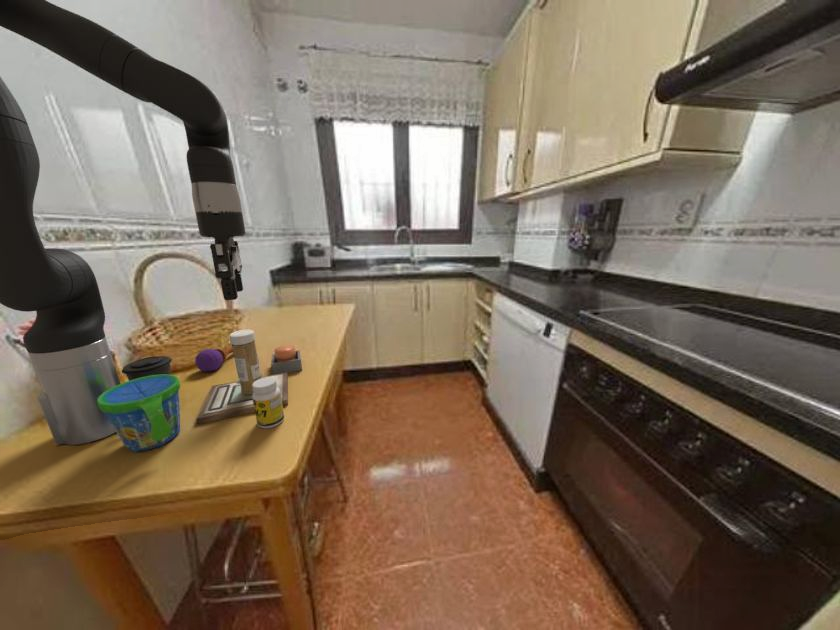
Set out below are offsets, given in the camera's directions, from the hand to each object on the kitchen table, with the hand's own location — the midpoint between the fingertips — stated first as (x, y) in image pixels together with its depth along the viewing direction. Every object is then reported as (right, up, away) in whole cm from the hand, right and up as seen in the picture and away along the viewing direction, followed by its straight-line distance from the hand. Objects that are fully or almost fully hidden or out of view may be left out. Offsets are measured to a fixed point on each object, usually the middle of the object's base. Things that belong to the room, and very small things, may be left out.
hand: (234, 295), depth 63 cm
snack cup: (-10, -26, -7) cm, 29 cm away
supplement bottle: (+9, -25, -3) cm, 26 cm away
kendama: (-18, -17, +27) cm, 36 cm away
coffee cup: (-19, -23, +5) cm, 30 cm away
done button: (+2, -16, +20) cm, 26 cm away
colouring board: (0, -22, +6) cm, 23 cm away
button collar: (+2, -18, +20) cm, 27 cm away
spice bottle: (+1, -21, +6) cm, 22 cm away
